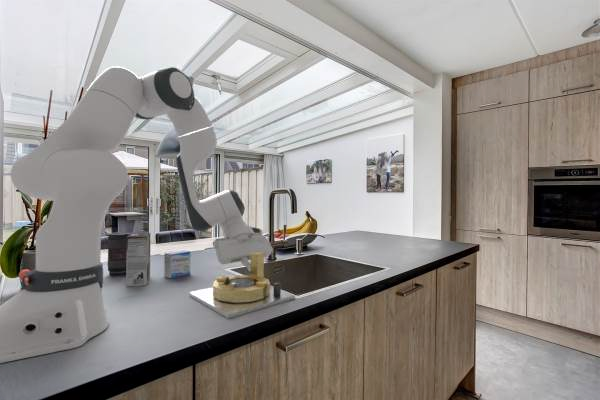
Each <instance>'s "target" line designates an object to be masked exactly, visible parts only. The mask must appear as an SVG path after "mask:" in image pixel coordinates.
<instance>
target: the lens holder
mask: <svg viewBox="0 0 600 400" xmlns="http://www.w3.org/2000/svg"><path fill="white" fill-rule="evenodd" d="M264 259H265V257H264V252H255V253H252V254H251V260H250V264H251V271H250V274H246V275H245V274H244V275H242V274H241V275H236V274H235V275H231V276H223V275H219V276H217V277H216V280H214V281H213V285H212V287H213V297H215V298H216V299H218V300H220V301H226V302H233V303H236V302H251V301H255V300H259V299H263V298H265V297H266V296H267V295H269V294H270V286H271V283H270V279H268V278H265V277H264V271H265V269H264V267H265V265H264V263H265V260H264ZM235 279H251V280H253V281H254V286H251V287H246V288H236V285H233V284H230V281H232V280H235Z"/></svg>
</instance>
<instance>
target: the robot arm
mask: <svg viewBox="0 0 600 400" xmlns="http://www.w3.org/2000/svg"><path fill="white" fill-rule="evenodd" d="M161 116H166V117H167V118H168V119H169V120H170V121H171V122H172V124H173V127H174V130H175V133H176V136H177V138H178V141H179V145H180V147H179V153H178V154H177V156H176V160H175V163H176V169H177V173H178V178H179V182H180V187H181V190H182V196H183V198H184V199H183V200H184V202H185V205H186V206H185V207H186V218H187V221H188V224H189V226H190V227H191V228H192V229H193V230H195V231H198V232H202V233H203V232H206V231H208V230H210V229H212V228H213V227H215V226H219V227H220V228H221V230H222V235H223V237H217V238H215V239H214V240H213V241H212V246H213V248H214V250H215V254H216V257H217V260H218V263H220V264H221V265H227V264H235V263H239V262H241V265H243V266H244V267H245V268H247V270H248V272H251V262H249V261H251V254H252V253H255V252H264V258H268V257H270V256H271V254H272V253H273V247H272V244H271V243H270V242H269V241H270V240H269V239H268V237H266V236H265V235H264V234H263V233H264V232H263V229H261V228H258V227H255V226H250V225H248V224H247V223H246V222H245V220H244V219H243V216H244V213H245V209H246V206H245V205H244V203H243V201H242V199H241V197H240V195H239V193H238V192H237V191H234V190H233V189H226V190H223V191H221V192H219V193H216V194H214V195H211V196H209V197H207V198H205V199H204V198H203V199H198V196H197V192H196V188H195V182H194V173H195V172H196V170H197V169H198V168H199V167H200V166H201V165H202V164H203V163H205V162H206V161H207V160H208V159H209V158H210V157H211V156H212V155H213V153H214V152H215V150H216V147H217V145H218V144H217V143H218V140H217V135H216V132H215V129H214V127H213V124H212V122H211V120H210V118H209V115H208V113H207V111H206V110H205V108H204V107H203V104H202V102H201V101H200V100H199V98H197V96H195V92H194V87H193V85H192V82H191V80H190V78H189V77H188V75H186V74H185V72H183V71H182V70H181V69H179V68H177V67H175V66H174V67H173V66H169V67H163V68H162V67H161V68H159V69H158V70H156V71H152V72H150V73H148V74H145V75H143V76H140V77H138V76H137V74H135V73H134V72H133V71H131V70H129V69H128V68H125V67H123V66H111V67H108V68H106V69H105V70H103V72H101V73H100V74H99V75H98V76H97V77H96V78H95V79H94V81H92V82H91V84H90V85H88V88H87V89H86V91H85V92H84V94H83V95H82V96H81V98H80V100H79V101H78V103H77V104H76V106H74V109H73V110H72V111H71V113H70V115H69V116H68V117H66V119H65V120H64V122H63V123H61V124H60V125H59V127H57V128H56V129H55V130H54V131H53V132H52V133H51V134H50V135H48V136H47V137H46V138H45V139H44V140H43V141H41V143H39V145H37V146H36V147H35V148H34V149H33V150H31V151H30V152H28V153H27V154H26V155H25V154H24V155H23V156H22V157H19V158H18V159H17V160H16V161H15V162H14V163H13V164H12V167H11V169H10V178H11V182H12V184H13V185H14V187H15V189H17V190H18V191H19V192H20V193H23V194H24V195H26V196H30V197H31V198H35V199H38V200H42V201H50V202H51V201H53V202H52V207H51V210H50V212H49V215H48V217H47V219H46V220H45V222H44V223H43V224H42V225H41V226H39V228H38V229H37V230H36V233H35V268H34V269H32V270H30V269H22V270H20V272H19V273H18V279H19V280H21V288H22V290H21V291H19V292H18V293H16V294H15V295H13V296H12V297H10V298H9V299H8V300H7V301H5V302H3V303H2V304H1V305H0V364H4V363H7V362H12V361H16V360H21V359H27V358H31V357H37V356H41V355H47V354H52V353H56V352H60V351H67V350H71V349H75V348H79V347H81V346H82V345H84V344H86V342H87V341H89V340H90V339H91V338H93V337H95V336H97V335H99V334H101V333H103V331H105V330H106V329H107V328H108V327H109V324H110V323H109V319H108V317H107V314H106V310H105V306H104V300H103V299H104V298H103V294H102V288H103V284H104V267H103V266H104V265H103V263H102V261H101V255H102V254H101V253H102V251H101V246H102V245H101V244H102V229H103V224H104V221H105V218H106V215H107V213H108V210H109V209H110V207H111V205H112V203H113V201H115V199H116V198H117V197H119V196H120V195H121V194H122V193H123V192H124V190H125V189H126V187H127V184H128V182H129V181H128V180H129V179H128V177H129V175H128V170H127V167H126V165H125V163H124V161H123V160H122V159H121V158H120V157H119V156H118V155H116V154H114V153H112V152H111V151H114V150H116V149H117V148H118V147H120V145H121V144H122V143H123V140H124V139H125V137H126V136H127V133H128V131H129V129H130V127H131V126H132V124H133V122H134V120H135V118H136V119H140V120H152V119H154V118H157V117H161Z"/></svg>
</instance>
